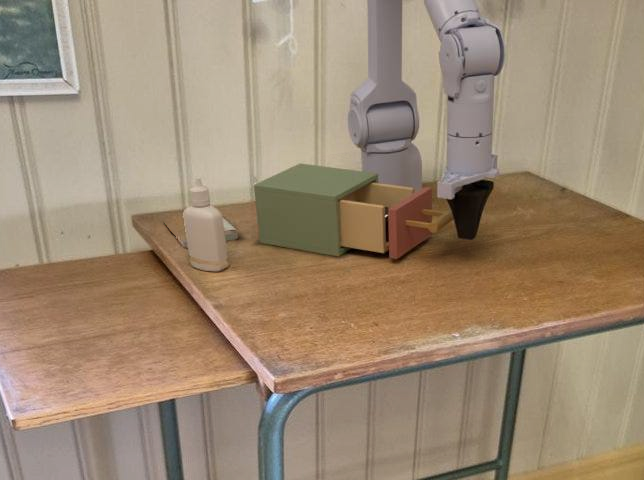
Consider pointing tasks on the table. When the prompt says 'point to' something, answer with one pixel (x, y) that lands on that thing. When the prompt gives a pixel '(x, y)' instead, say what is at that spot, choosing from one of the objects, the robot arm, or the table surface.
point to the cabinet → (306, 206)
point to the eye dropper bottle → (204, 230)
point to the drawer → (403, 217)
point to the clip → (386, 223)
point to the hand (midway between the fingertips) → (466, 237)
